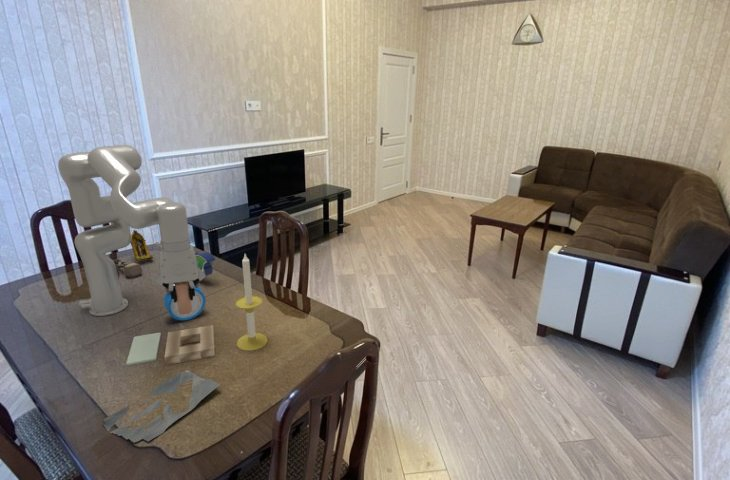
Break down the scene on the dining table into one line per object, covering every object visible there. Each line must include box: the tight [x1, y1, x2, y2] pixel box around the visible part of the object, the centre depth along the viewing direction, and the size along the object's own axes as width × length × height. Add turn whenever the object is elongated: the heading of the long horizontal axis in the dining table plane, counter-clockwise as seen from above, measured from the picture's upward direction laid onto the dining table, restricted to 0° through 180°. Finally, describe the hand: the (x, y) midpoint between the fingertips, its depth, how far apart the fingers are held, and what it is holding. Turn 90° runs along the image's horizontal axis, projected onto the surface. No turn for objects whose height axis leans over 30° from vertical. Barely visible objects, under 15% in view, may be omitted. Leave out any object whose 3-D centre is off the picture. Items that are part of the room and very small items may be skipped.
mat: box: [125, 332, 162, 367], centre depth 126 cm, size 8×15×1 cm, turn 21°
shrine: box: [130, 229, 154, 262], centre depth 189 cm, size 12×8×15 cm
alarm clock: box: [163, 282, 207, 323], centre depth 142 cm, size 13×6×15 cm, turn 128°
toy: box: [113, 259, 143, 278], centre depth 178 cm, size 7×8×15 cm
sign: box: [194, 250, 216, 277], centre depth 174 cm, size 35×4×14 cm, turn 55°
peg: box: [174, 281, 192, 314], centre depth 121 cm, size 4×4×10 cm
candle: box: [235, 253, 269, 352], centre depth 126 cm, size 10×10×32 cm
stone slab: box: [102, 369, 221, 443], centre depth 103 cm, size 24×16×2 cm, turn 148°
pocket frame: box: [164, 324, 216, 366], centre depth 127 cm, size 14×14×3 cm
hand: (183, 298), depth 121 cm, fingers closed on peg, 4 cm apart
